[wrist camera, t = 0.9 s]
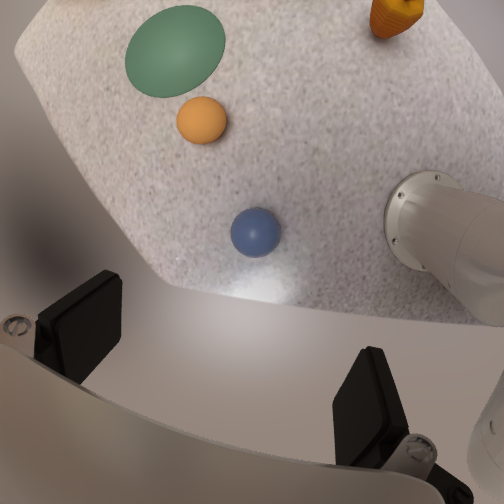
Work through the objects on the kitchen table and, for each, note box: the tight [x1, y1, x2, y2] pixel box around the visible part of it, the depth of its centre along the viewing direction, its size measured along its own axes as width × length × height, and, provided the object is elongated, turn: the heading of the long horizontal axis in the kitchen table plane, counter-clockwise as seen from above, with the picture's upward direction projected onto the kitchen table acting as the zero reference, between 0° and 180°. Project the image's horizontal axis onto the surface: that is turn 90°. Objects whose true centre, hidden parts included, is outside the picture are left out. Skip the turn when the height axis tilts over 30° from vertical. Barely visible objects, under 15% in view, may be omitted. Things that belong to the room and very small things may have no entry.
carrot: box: [370, 0, 424, 38], centre depth 19 cm, size 5×5×15 cm
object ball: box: [177, 97, 226, 144], centre depth 30 cm, size 6×6×6 cm
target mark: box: [125, 5, 225, 98], centre depth 30 cm, size 14×14×1 cm
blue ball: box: [231, 208, 280, 258], centre depth 33 cm, size 6×6×6 cm
